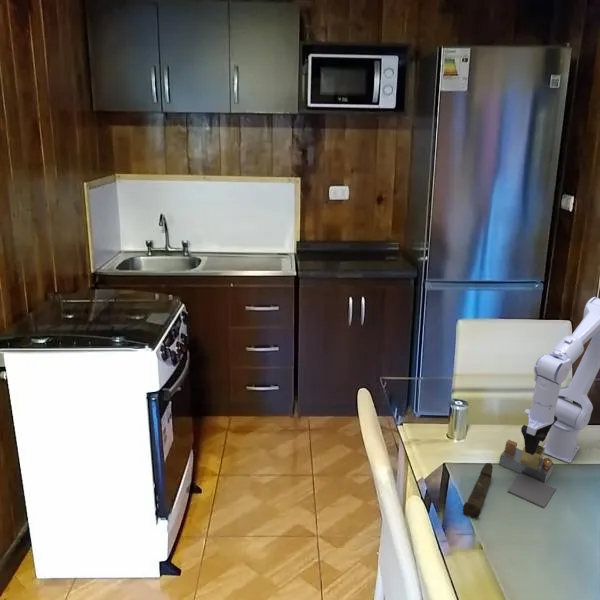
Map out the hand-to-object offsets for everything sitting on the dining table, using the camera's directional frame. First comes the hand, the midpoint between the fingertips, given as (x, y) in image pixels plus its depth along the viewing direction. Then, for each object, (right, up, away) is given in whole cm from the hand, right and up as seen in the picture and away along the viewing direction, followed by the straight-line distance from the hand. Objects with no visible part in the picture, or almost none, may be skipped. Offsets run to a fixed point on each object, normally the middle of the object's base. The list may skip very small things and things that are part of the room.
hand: (534, 446), depth 156 cm
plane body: (-1, -7, +4) cm, 8 cm away
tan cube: (0, -4, +2) cm, 5 cm away
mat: (-3, -10, -5) cm, 11 cm away
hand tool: (-17, -11, -6) cm, 21 cm away
